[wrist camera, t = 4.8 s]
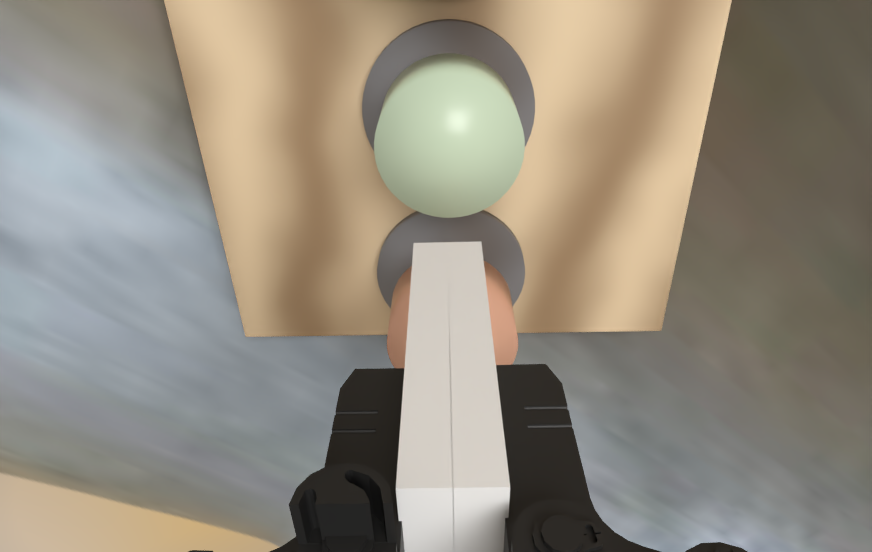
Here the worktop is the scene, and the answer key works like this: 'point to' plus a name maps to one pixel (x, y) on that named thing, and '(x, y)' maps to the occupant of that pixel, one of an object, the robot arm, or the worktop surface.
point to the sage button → (449, 136)
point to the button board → (494, 226)
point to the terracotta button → (499, 315)
